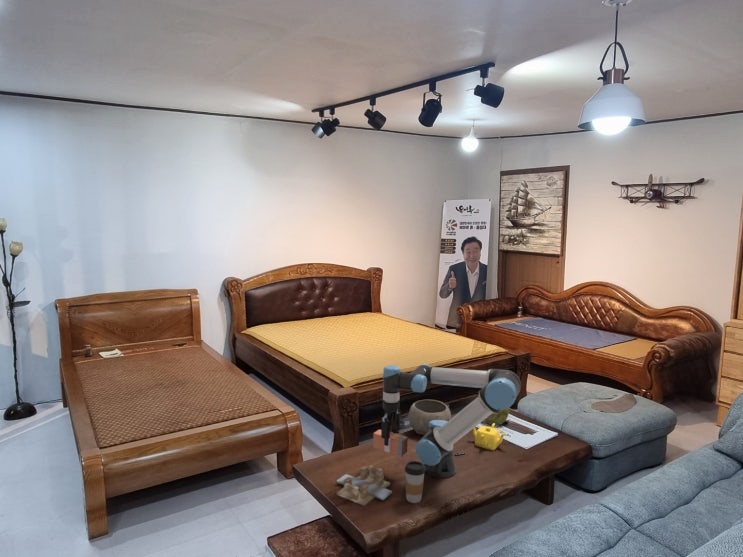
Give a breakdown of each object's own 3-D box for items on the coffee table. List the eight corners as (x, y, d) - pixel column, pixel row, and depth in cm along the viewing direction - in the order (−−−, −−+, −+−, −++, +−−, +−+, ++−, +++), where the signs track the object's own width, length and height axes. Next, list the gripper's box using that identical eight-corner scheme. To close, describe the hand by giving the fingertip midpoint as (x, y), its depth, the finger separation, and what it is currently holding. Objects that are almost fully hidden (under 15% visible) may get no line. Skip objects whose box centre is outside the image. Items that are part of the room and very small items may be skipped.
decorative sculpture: (506, 428, 288) (508, 394, 285) (477, 423, 294) (479, 390, 291) (509, 418, 303) (512, 385, 301) (481, 413, 309) (483, 381, 306)
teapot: (506, 450, 262) (507, 432, 261) (480, 452, 259) (481, 434, 258) (493, 437, 276) (494, 420, 275) (468, 440, 273) (469, 422, 272)
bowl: (405, 438, 273) (406, 411, 271) (409, 421, 295) (410, 395, 293) (450, 442, 269) (451, 415, 267) (450, 424, 292) (452, 399, 290)
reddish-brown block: (379, 443, 242) (379, 429, 241) (407, 452, 234) (407, 437, 233) (373, 447, 237) (373, 433, 237) (401, 456, 229) (402, 441, 228)
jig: (399, 488, 224) (400, 475, 223) (374, 509, 207) (375, 495, 206) (354, 471, 237) (354, 459, 236) (327, 491, 220) (327, 477, 219)
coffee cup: (402, 493, 219) (403, 460, 217) (421, 493, 220) (423, 460, 218) (405, 505, 211) (406, 470, 209) (425, 504, 212) (426, 470, 210)
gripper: (394, 392, 242) (393, 440, 245) (373, 404, 227) (372, 454, 230) (408, 395, 238) (407, 444, 241) (387, 408, 223) (387, 459, 226)
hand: (390, 449), depth 235 cm, fingers closed on reddish-brown block, 5 cm apart
